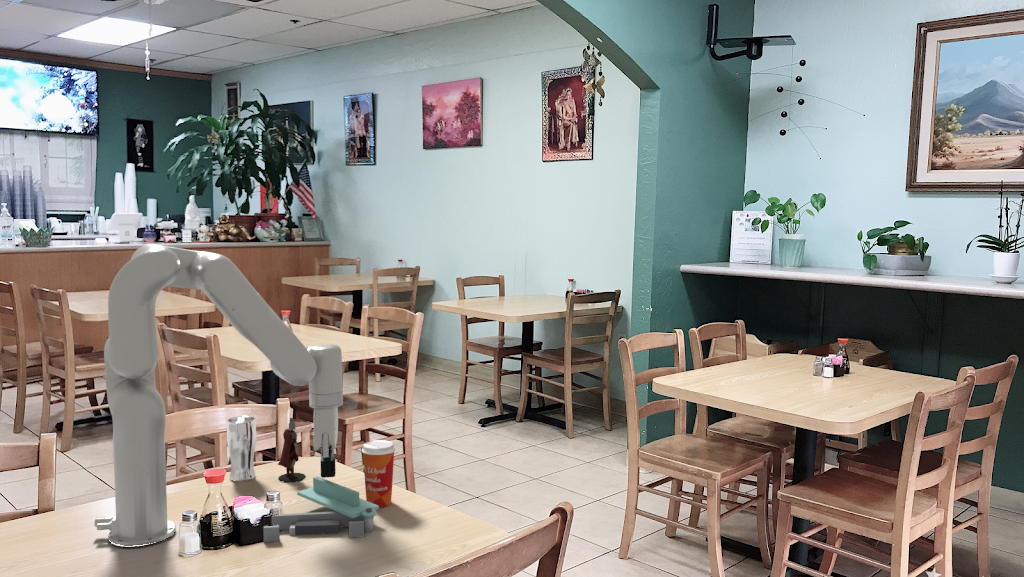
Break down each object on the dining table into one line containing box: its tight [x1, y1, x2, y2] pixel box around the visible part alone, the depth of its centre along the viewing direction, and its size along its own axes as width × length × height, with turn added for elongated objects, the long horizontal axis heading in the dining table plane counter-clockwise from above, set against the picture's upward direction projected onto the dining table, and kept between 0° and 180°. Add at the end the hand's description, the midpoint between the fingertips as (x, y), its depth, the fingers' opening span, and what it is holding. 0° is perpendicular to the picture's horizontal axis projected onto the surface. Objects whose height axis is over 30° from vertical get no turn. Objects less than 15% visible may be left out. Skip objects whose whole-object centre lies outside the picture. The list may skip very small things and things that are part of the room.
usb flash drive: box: [289, 520, 342, 536], centre depth 165 cm, size 10×3×2 cm, turn 96°
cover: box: [296, 476, 380, 518], centre depth 172 cm, size 22×7×4 cm, turn 49°
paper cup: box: [361, 439, 397, 509], centre depth 181 cm, size 8×8×14 cm
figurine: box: [277, 418, 306, 483], centre depth 197 cm, size 7×7×15 cm
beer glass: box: [226, 415, 257, 482], centre depth 197 cm, size 7×7×15 cm
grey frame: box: [262, 511, 374, 543], centre depth 165 cm, size 22×7×3 cm, turn 99°
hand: (328, 475), depth 182 cm, fingers closed
